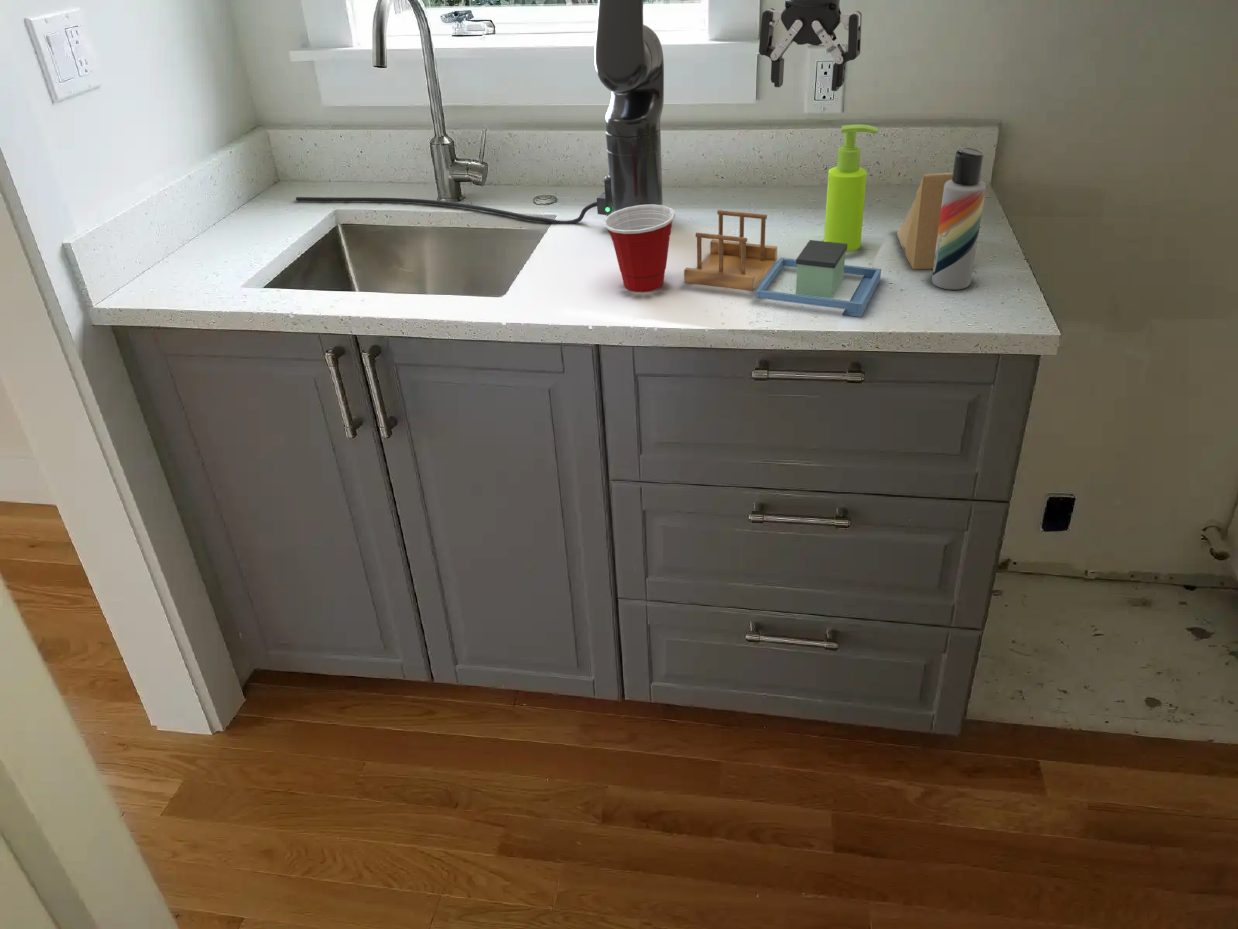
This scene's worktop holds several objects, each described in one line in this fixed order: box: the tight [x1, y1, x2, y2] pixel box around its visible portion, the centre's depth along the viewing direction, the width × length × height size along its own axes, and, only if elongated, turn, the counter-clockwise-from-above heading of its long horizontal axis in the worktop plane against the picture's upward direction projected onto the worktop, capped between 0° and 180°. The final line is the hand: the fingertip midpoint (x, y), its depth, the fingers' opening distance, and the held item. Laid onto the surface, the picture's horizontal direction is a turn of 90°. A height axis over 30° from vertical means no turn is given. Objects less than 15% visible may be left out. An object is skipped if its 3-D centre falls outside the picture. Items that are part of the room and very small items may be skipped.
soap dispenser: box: [823, 124, 879, 253], centre depth 154 cm, size 6×7×20 cm
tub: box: [795, 239, 847, 299], centre depth 145 cm, size 6×8×6 cm
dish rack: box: [683, 209, 778, 292], centre depth 152 cm, size 11×13×9 cm
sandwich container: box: [896, 171, 982, 270], centre depth 154 cm, size 9×15×15 cm, turn 176°
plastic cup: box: [602, 204, 676, 293], centre depth 148 cm, size 11×11×12 cm
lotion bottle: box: [931, 147, 987, 291], centre depth 142 cm, size 6×6×20 cm
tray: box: [755, 257, 882, 318], centre depth 147 cm, size 16×13×2 cm
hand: (806, 87), depth 143 cm, fingers open, 8 cm apart
